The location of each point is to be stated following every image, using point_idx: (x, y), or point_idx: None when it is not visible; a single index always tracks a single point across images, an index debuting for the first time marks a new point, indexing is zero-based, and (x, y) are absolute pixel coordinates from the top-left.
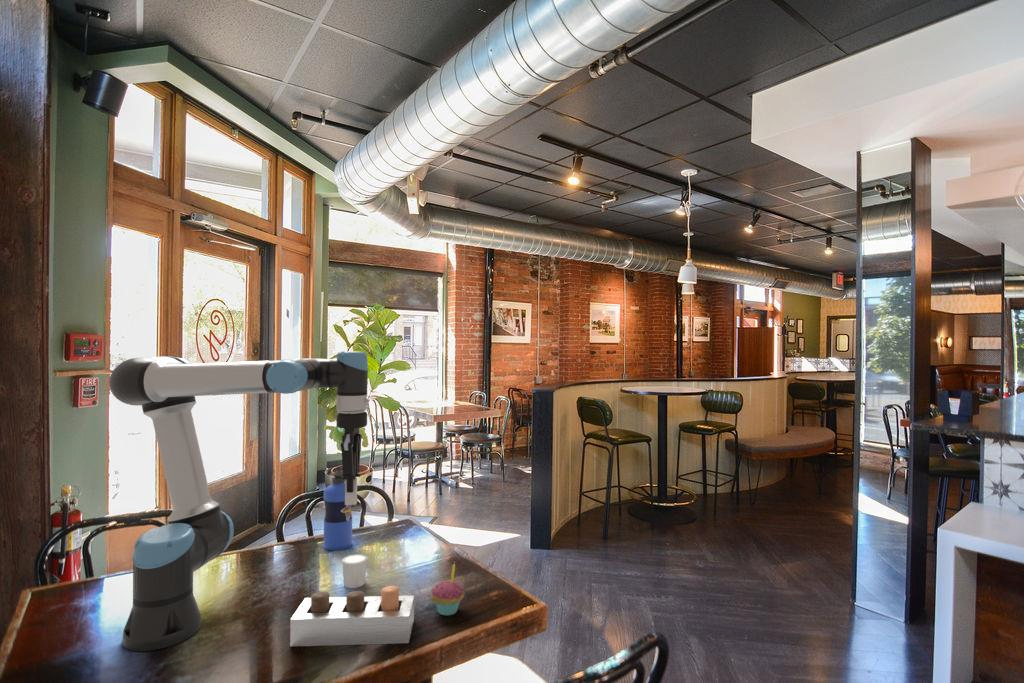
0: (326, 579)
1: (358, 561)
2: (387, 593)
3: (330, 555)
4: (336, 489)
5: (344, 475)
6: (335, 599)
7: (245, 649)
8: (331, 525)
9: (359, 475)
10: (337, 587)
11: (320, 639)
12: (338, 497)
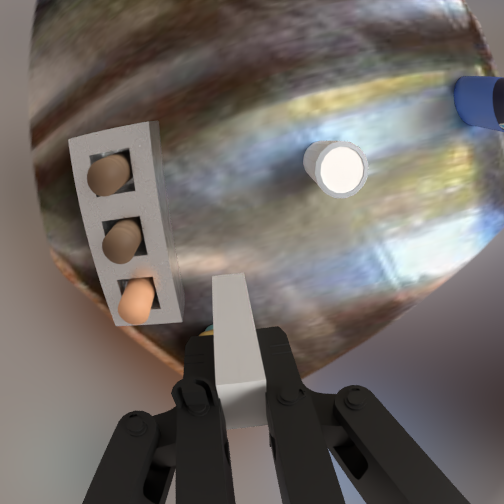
0: (342, 100)
1: (328, 182)
2: (118, 310)
3: (437, 91)
4: None
5: (117, 441)
6: (146, 189)
7: (79, 71)
8: (488, 92)
9: (270, 443)
10: (306, 131)
11: None
12: None
